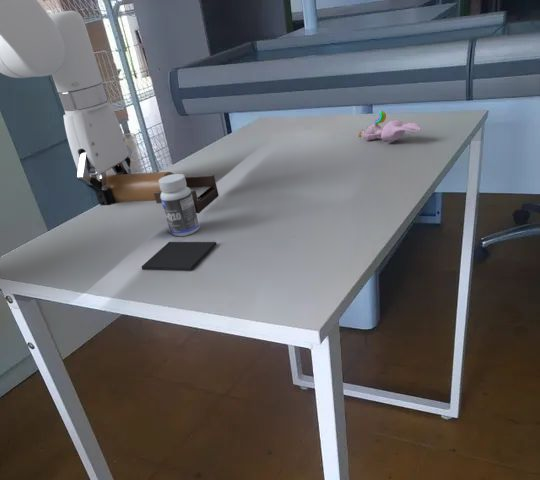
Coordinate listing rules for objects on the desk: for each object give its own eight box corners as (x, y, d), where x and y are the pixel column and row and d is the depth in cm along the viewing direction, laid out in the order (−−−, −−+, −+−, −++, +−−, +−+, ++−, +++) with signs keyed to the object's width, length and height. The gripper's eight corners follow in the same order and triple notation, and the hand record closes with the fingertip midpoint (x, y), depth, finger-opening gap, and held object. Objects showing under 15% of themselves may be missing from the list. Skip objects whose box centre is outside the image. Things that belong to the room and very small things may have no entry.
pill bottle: (164, 235, 86) (149, 182, 81) (185, 223, 89) (171, 171, 84) (185, 238, 83) (170, 184, 78) (206, 226, 86) (193, 173, 81)
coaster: (142, 269, 77) (141, 266, 76) (170, 244, 82) (169, 241, 82) (191, 270, 74) (190, 267, 73) (216, 244, 79) (216, 241, 79)
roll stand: (159, 214, 95) (153, 192, 92) (181, 196, 100) (175, 176, 98) (198, 213, 92) (193, 191, 89) (218, 195, 97) (214, 174, 95)
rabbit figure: (353, 149, 111) (406, 145, 99) (348, 118, 109) (402, 110, 96) (376, 140, 114) (431, 135, 101) (371, 109, 111) (427, 101, 99)
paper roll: (102, 211, 100) (92, 181, 97) (119, 200, 104) (110, 171, 101) (167, 210, 95) (158, 178, 92) (182, 198, 99) (174, 167, 96)
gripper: (96, 89, 99) (128, 188, 109) (33, 114, 86) (75, 223, 97) (131, 85, 96) (159, 186, 106) (70, 110, 83) (109, 222, 94)
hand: (119, 203), depth 101 cm, fingers closed on paper roll, 5 cm apart
